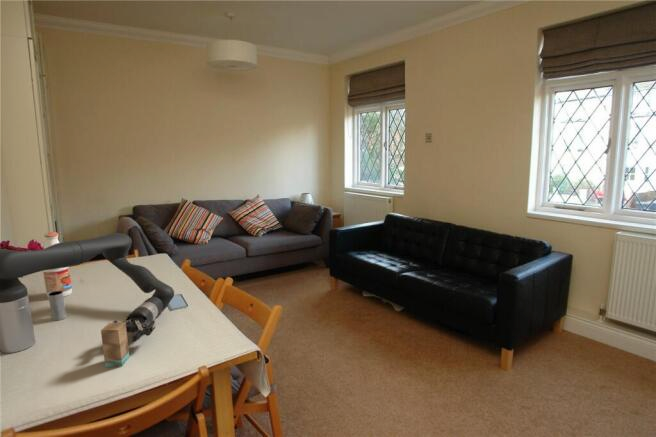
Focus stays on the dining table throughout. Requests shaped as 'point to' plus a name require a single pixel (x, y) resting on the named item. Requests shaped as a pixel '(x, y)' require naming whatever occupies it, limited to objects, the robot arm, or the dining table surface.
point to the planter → (57, 305)
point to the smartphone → (177, 302)
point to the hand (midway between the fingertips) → (119, 339)
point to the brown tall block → (115, 344)
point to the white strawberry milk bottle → (56, 272)
